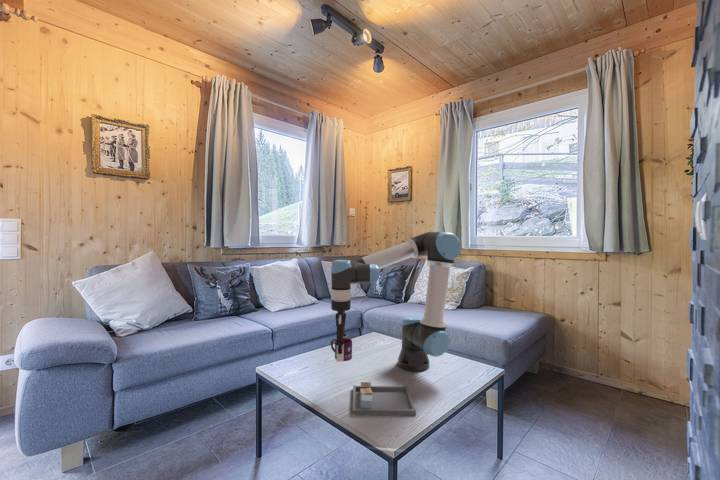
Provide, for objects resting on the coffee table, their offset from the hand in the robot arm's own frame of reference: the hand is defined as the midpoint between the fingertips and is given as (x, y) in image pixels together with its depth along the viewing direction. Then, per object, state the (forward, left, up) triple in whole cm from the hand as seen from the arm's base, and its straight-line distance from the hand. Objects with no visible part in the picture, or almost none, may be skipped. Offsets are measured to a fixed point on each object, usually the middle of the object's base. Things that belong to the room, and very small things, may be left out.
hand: (340, 357), depth 129 cm
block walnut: (-10, +2, -14) cm, 18 cm away
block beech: (-10, +7, -14) cm, 19 cm away
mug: (0, -1, 0) cm, 1 cm away
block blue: (-10, +12, -14) cm, 21 cm away
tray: (-16, +7, -15) cm, 23 cm away
